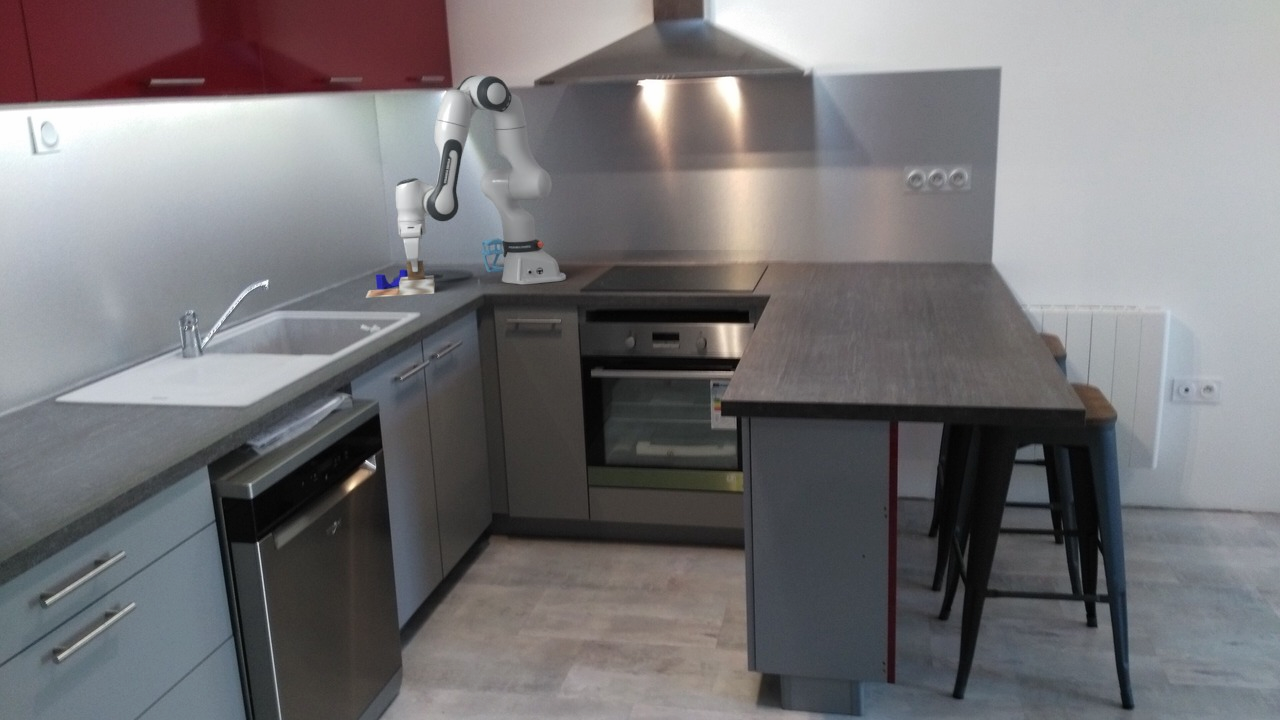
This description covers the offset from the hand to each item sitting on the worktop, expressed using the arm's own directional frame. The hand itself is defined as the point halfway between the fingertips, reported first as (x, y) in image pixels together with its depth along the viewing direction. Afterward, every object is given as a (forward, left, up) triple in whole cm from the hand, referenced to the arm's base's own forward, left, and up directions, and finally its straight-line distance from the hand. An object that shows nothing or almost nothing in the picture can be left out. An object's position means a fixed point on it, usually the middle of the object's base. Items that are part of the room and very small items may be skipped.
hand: (415, 270), depth 354 cm
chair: (-27, -39, -8) cm, 48 cm away
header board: (+5, 0, -8) cm, 10 cm away
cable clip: (+9, -12, -8) cm, 17 cm away
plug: (0, 0, -6) cm, 6 cm away
